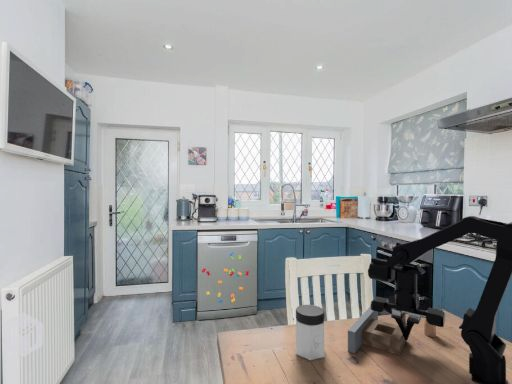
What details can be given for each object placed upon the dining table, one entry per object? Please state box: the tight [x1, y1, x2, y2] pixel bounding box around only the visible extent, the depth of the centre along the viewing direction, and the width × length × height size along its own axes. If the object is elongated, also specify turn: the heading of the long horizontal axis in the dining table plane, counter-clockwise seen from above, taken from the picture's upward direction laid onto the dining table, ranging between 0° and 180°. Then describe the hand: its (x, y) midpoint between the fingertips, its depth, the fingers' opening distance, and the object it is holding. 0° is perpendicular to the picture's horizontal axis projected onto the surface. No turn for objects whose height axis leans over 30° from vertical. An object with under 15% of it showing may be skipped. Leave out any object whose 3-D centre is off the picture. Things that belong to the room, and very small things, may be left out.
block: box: [362, 319, 407, 356], centre depth 85 cm, size 10×10×4 cm
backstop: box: [347, 305, 379, 354], centre depth 89 cm, size 2×24×6 cm, turn 142°
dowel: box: [423, 318, 437, 338], centre depth 90 cm, size 3×3×7 cm
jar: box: [295, 304, 326, 361], centre depth 80 cm, size 9×8×12 cm
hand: (406, 339), depth 82 cm, fingers closed
